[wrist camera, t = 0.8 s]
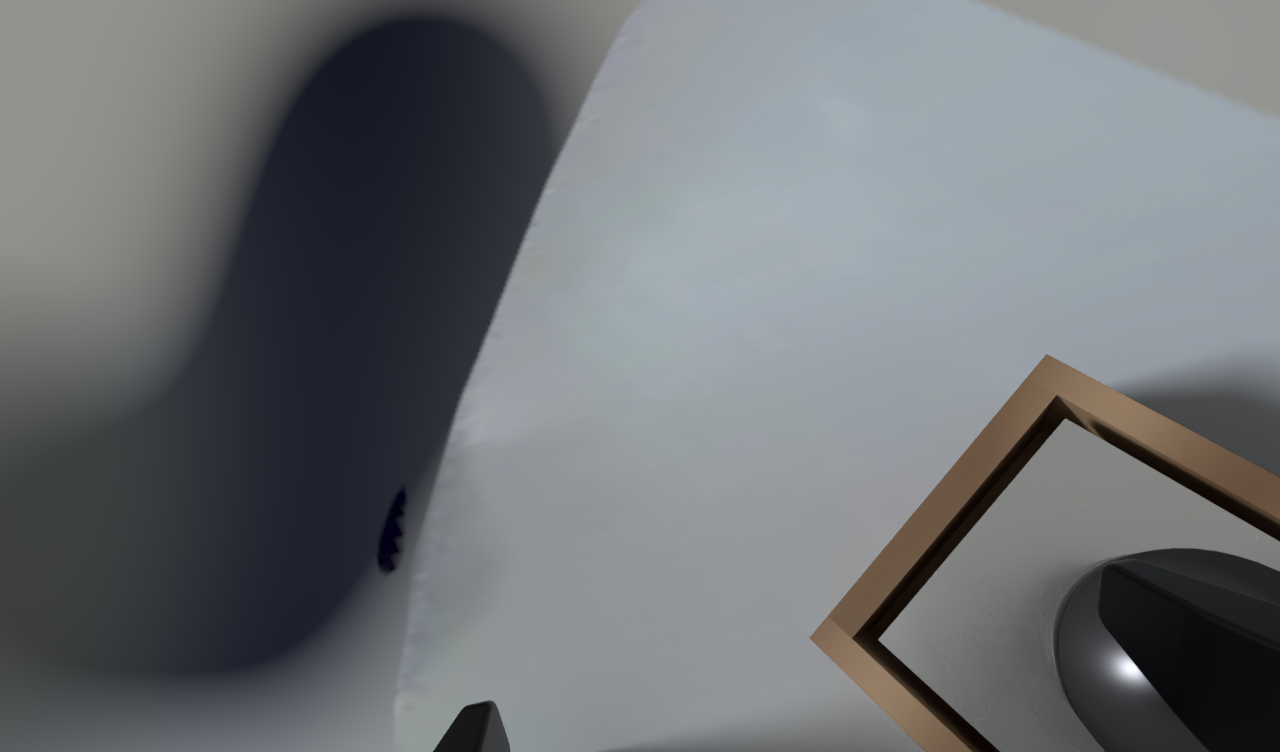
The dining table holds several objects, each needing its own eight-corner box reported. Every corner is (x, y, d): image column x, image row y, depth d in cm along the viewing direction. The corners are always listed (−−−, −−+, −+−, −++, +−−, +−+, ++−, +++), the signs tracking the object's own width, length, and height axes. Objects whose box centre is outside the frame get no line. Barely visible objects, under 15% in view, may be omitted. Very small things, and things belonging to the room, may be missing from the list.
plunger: (1443, 645, 12) (1854, 701, 6) (1189, 919, 12) (1365, 1191, 7) (1061, 423, 16) (1111, 338, 10) (880, 638, 16) (835, 667, 11)
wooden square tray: (1415, 628, 16) (1603, 648, 11) (1152, 913, 16) (1224, 1045, 12) (1029, 404, 21) (1046, 354, 16) (844, 625, 22) (809, 638, 17)
